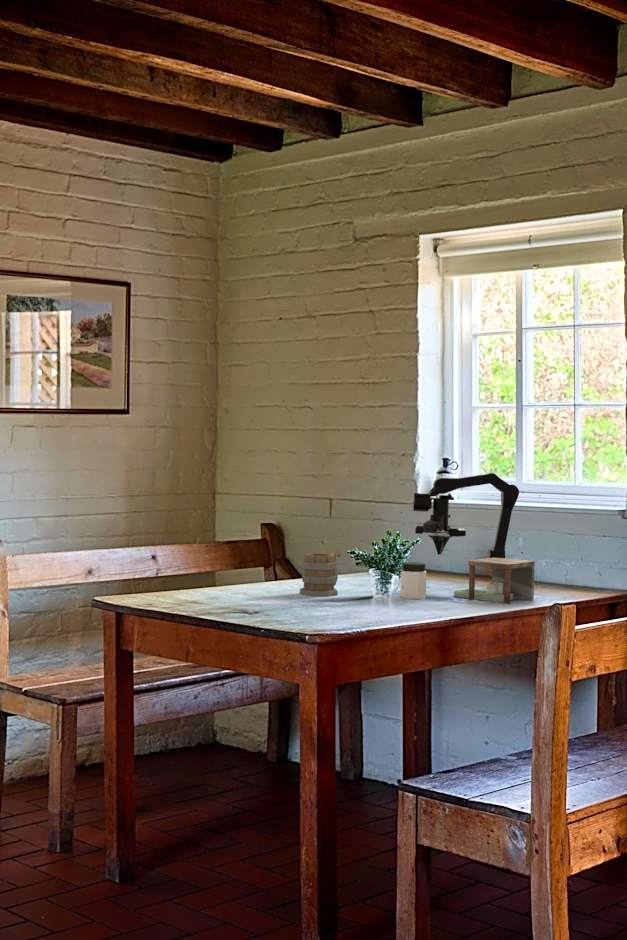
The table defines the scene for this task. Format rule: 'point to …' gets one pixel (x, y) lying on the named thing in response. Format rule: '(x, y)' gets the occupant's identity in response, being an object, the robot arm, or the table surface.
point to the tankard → (320, 574)
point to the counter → (507, 576)
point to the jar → (413, 580)
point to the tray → (485, 592)
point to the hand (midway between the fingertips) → (439, 554)
